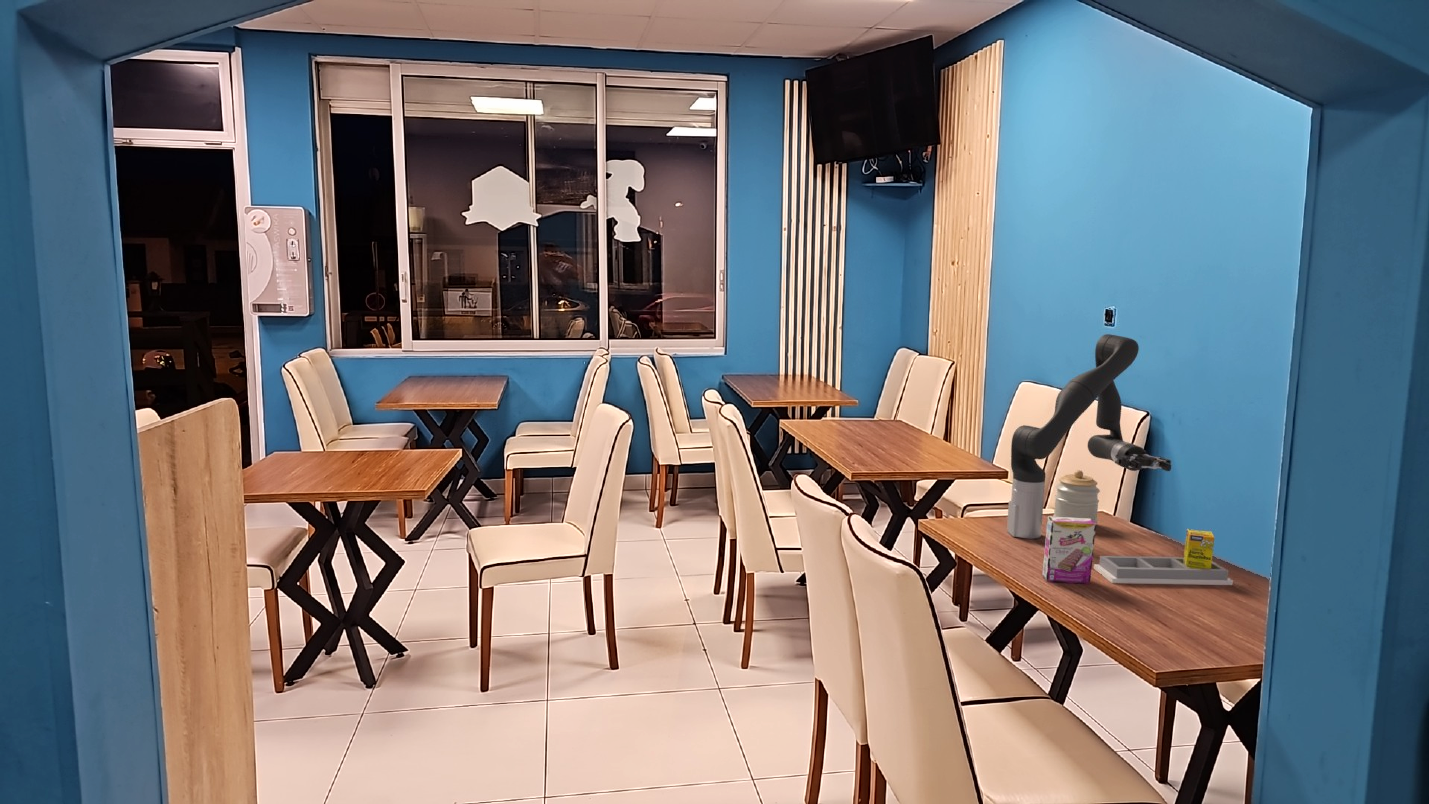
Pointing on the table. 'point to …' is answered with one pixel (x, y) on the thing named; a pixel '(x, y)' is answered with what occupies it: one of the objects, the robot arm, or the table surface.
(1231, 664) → the table surface
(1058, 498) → the jar
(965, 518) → the table surface
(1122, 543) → the table surface
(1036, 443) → the robot arm
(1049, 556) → the candy bar box
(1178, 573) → the rack
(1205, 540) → the supplement box
